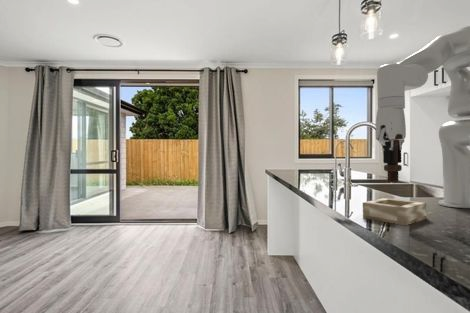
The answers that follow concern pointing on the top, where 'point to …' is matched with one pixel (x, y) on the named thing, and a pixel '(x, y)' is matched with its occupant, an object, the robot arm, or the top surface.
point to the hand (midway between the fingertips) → (392, 162)
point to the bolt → (394, 167)
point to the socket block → (394, 211)
